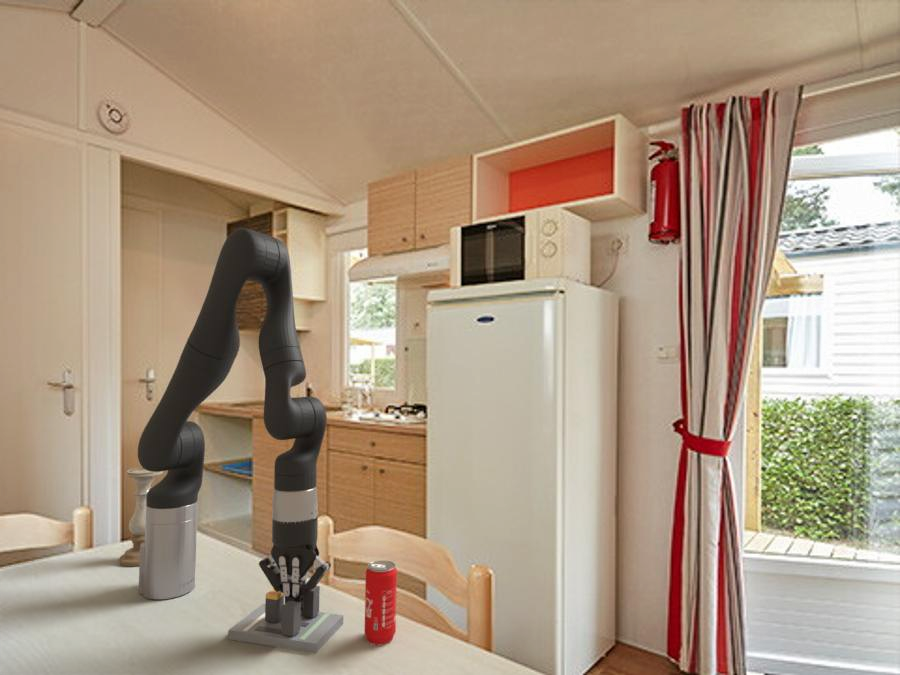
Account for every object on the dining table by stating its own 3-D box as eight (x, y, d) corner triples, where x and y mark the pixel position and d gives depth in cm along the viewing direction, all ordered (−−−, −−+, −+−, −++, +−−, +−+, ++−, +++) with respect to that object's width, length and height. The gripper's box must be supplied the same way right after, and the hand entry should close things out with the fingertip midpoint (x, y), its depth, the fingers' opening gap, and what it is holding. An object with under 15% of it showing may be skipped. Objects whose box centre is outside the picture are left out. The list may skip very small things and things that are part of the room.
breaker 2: (281, 634, 89) (281, 606, 90) (288, 628, 91) (288, 600, 92) (293, 636, 89) (294, 608, 89) (300, 629, 91) (300, 602, 91)
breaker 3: (301, 616, 96) (302, 589, 96) (307, 610, 98) (308, 584, 98) (313, 617, 95) (313, 591, 95) (319, 612, 97) (319, 586, 98)
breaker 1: (264, 620, 94) (265, 594, 94) (272, 615, 96) (272, 588, 96) (276, 622, 93) (277, 595, 93) (283, 616, 95) (284, 590, 96)
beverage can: (390, 647, 89) (391, 572, 90) (359, 644, 90) (361, 569, 91) (399, 632, 94) (400, 561, 95) (370, 628, 95) (372, 558, 96)
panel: (228, 639, 91) (228, 629, 91) (262, 612, 101) (262, 603, 101) (316, 653, 87) (316, 642, 87) (343, 623, 97) (343, 614, 97)
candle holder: (171, 555, 128) (174, 467, 129) (140, 569, 120) (143, 475, 121) (142, 550, 131) (145, 465, 132) (109, 563, 123) (113, 472, 123)
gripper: (248, 517, 92) (246, 622, 92) (320, 522, 89) (319, 631, 88) (273, 506, 100) (271, 603, 99) (340, 510, 96) (339, 611, 96)
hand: (294, 616), depth 94 cm, fingers closed
